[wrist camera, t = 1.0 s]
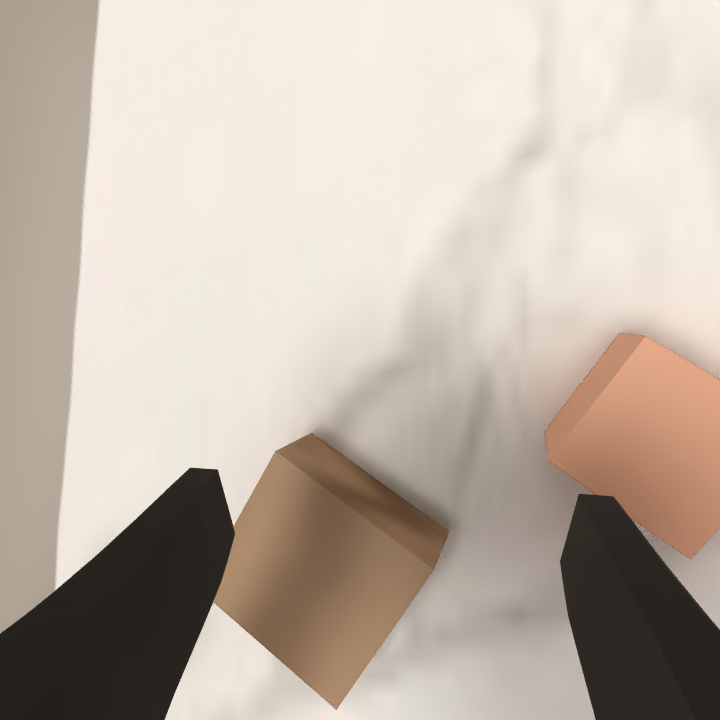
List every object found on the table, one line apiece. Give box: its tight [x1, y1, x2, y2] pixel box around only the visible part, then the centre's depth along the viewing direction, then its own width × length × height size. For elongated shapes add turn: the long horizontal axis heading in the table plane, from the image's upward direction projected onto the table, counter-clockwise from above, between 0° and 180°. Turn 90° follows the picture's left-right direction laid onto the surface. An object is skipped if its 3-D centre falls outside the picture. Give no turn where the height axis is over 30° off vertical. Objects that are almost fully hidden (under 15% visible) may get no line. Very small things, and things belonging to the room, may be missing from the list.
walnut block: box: [213, 433, 449, 710], centre depth 23 cm, size 8×8×4 cm
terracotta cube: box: [545, 334, 720, 560], centre depth 18 cm, size 5×5×5 cm
